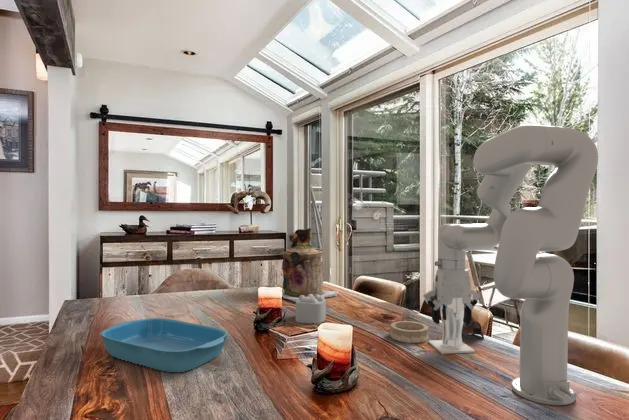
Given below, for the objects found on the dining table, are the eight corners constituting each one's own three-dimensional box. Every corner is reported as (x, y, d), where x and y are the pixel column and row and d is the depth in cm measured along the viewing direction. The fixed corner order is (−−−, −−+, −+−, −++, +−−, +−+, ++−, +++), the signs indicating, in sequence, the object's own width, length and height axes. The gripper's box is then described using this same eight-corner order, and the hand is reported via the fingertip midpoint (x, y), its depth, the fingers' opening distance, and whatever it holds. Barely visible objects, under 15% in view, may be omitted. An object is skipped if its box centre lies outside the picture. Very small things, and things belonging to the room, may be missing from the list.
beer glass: (438, 346, 126) (438, 296, 125) (442, 340, 132) (443, 292, 132) (462, 350, 122) (463, 298, 122) (466, 343, 129) (466, 294, 128)
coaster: (474, 352, 123) (474, 350, 123) (441, 353, 122) (441, 351, 122) (458, 341, 133) (458, 339, 133) (428, 342, 131) (428, 340, 131)
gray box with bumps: (292, 322, 153) (292, 298, 153) (303, 313, 166) (303, 291, 166) (320, 324, 150) (320, 300, 150) (329, 315, 163) (329, 293, 163)
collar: (433, 342, 132) (433, 330, 132) (397, 343, 130) (397, 331, 130) (419, 331, 143) (419, 320, 143) (386, 332, 142) (386, 321, 142)
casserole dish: (242, 355, 120) (243, 330, 120) (186, 384, 100) (186, 354, 100) (149, 336, 136) (149, 314, 136) (84, 358, 116) (84, 332, 116)
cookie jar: (306, 288, 216) (307, 225, 215) (340, 296, 197) (340, 227, 196) (266, 294, 200) (266, 226, 199) (298, 304, 181) (298, 229, 181)
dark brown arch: (490, 343, 133) (481, 322, 131) (462, 355, 134) (452, 334, 132) (477, 323, 144) (468, 303, 142) (451, 334, 146) (442, 315, 144)
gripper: (429, 267, 122) (428, 326, 122) (485, 266, 124) (485, 324, 124) (419, 263, 129) (419, 319, 129) (473, 263, 132) (472, 318, 132)
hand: (451, 322), depth 127 cm, fingers open, 9 cm apart
